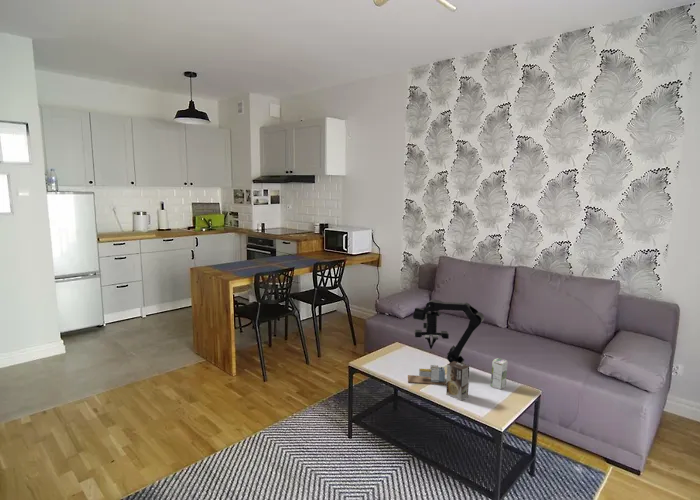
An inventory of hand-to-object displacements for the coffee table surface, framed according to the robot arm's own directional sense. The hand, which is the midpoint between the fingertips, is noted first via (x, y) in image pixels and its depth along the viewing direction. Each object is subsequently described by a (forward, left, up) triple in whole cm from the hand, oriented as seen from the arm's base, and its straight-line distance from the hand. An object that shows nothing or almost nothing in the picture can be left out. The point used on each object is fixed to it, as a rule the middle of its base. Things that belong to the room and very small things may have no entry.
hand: (430, 348), depth 239 cm
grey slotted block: (-1, +15, -12) cm, 20 cm away
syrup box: (-34, +17, -13) cm, 40 cm away
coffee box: (-11, +30, -13) cm, 34 cm away
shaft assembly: (0, +15, -12) cm, 19 cm away
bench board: (+3, +15, -12) cm, 20 cm away
